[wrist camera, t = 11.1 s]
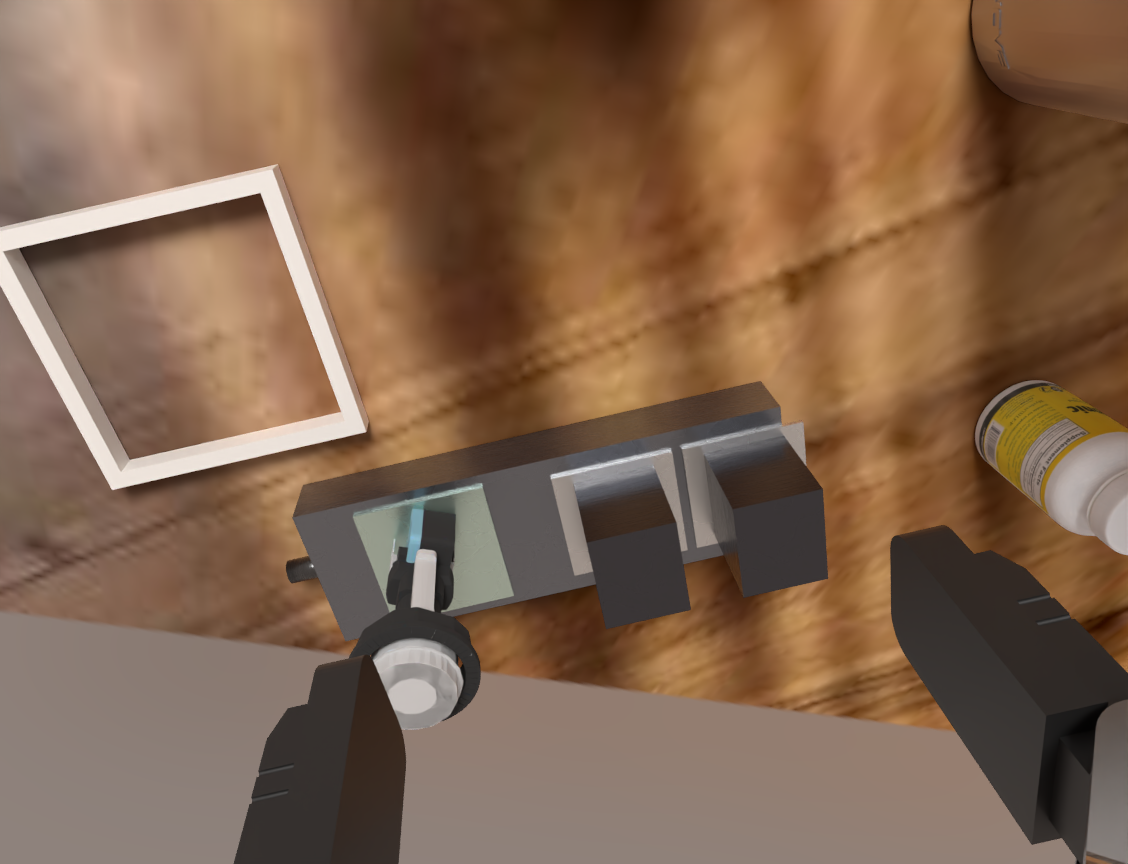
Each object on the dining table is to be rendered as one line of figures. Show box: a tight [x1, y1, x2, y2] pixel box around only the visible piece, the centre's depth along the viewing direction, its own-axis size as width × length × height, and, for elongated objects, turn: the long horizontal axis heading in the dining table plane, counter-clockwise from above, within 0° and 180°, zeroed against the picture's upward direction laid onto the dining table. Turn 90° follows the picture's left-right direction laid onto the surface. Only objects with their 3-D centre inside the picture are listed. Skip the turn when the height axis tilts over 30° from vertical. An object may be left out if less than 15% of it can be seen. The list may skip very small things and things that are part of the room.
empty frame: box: [0, 164, 369, 490], centre depth 38 cm, size 13×13×1 cm
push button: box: [349, 508, 480, 730], centre depth 37 cm, size 7×5×10 cm
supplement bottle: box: [975, 380, 1128, 555], centre depth 41 cm, size 5×5×10 cm
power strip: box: [286, 381, 828, 641], centre depth 41 cm, size 27×8×8 cm, turn 101°
